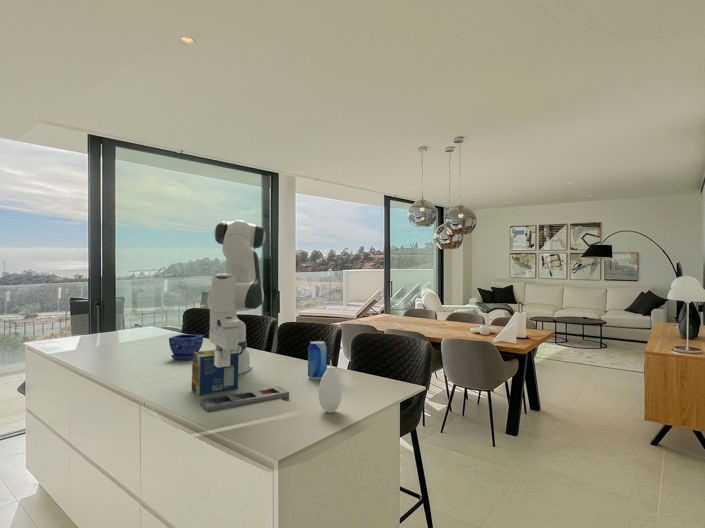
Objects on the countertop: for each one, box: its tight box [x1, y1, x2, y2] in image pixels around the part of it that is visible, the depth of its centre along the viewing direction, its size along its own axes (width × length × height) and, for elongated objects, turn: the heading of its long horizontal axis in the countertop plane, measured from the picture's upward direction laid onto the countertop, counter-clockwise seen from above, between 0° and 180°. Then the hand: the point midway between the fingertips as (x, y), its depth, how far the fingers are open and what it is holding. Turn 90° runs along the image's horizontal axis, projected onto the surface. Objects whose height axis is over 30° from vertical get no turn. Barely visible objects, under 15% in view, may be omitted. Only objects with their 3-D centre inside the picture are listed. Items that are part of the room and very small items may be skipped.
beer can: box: [307, 340, 328, 381], centre depth 184 cm, size 8×8×16 cm
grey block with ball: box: [214, 348, 230, 368], centre depth 144 cm, size 4×4×6 cm
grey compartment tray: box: [199, 385, 290, 412], centre depth 148 cm, size 9×30×2 cm, turn 126°
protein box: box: [191, 349, 239, 396], centre depth 162 cm, size 10×15×16 cm
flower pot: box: [168, 333, 204, 361], centre depth 220 cm, size 13×13×12 cm
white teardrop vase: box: [318, 359, 343, 414], centre depth 140 cm, size 8×8×18 cm
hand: (222, 358), depth 144 cm, fingers closed on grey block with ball, 4 cm apart
